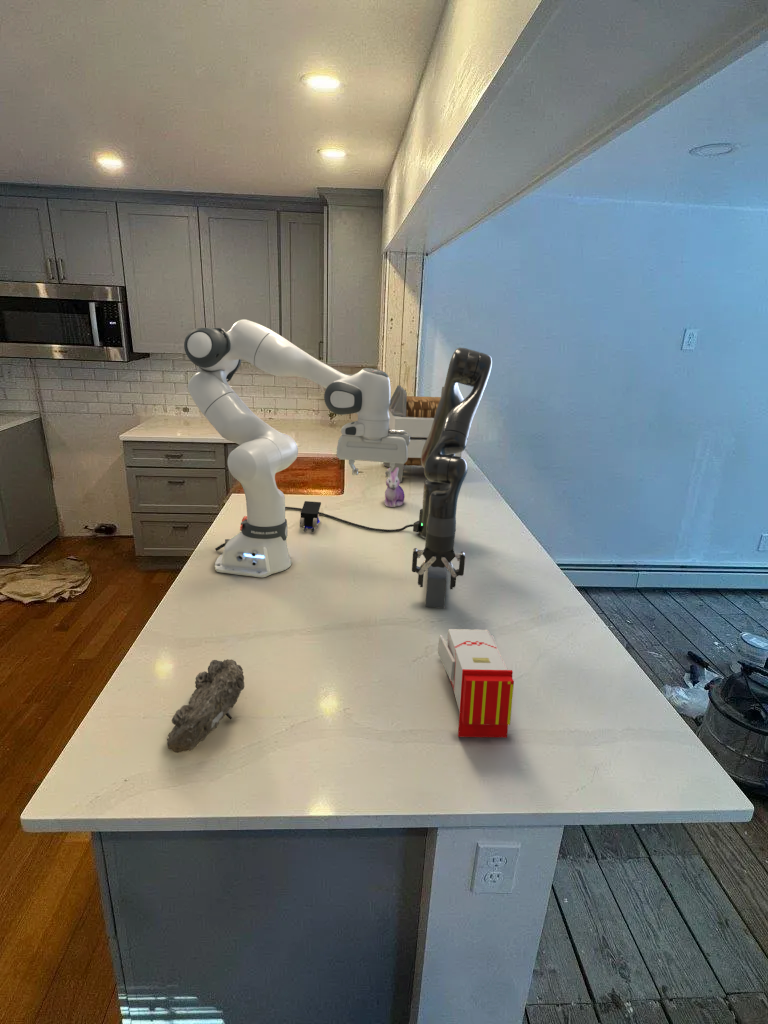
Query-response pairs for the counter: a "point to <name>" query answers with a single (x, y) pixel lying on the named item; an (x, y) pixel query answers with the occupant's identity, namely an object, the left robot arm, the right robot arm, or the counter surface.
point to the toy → (478, 682)
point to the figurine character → (310, 515)
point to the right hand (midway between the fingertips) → (436, 586)
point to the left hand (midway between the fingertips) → (371, 476)
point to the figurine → (394, 490)
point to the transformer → (412, 423)
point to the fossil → (206, 705)
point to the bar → (436, 587)
